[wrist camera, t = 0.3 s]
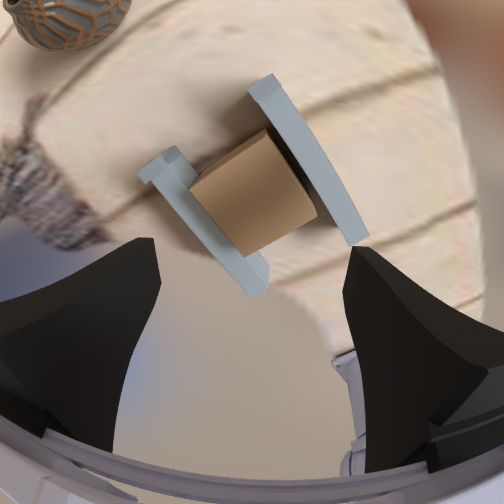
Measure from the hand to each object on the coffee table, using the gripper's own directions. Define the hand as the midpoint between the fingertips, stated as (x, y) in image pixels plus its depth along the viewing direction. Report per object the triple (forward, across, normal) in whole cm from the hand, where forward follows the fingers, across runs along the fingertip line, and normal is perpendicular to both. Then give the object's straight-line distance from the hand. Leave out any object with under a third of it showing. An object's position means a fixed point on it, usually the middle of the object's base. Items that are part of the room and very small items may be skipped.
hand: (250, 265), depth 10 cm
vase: (+10, +11, -14) cm, 20 cm away
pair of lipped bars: (+10, 0, 0) cm, 10 cm away
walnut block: (+10, 0, 0) cm, 10 cm away
